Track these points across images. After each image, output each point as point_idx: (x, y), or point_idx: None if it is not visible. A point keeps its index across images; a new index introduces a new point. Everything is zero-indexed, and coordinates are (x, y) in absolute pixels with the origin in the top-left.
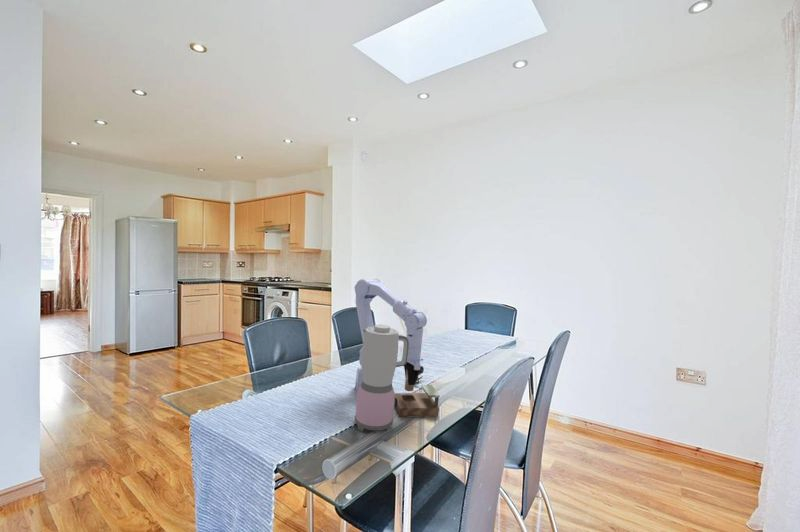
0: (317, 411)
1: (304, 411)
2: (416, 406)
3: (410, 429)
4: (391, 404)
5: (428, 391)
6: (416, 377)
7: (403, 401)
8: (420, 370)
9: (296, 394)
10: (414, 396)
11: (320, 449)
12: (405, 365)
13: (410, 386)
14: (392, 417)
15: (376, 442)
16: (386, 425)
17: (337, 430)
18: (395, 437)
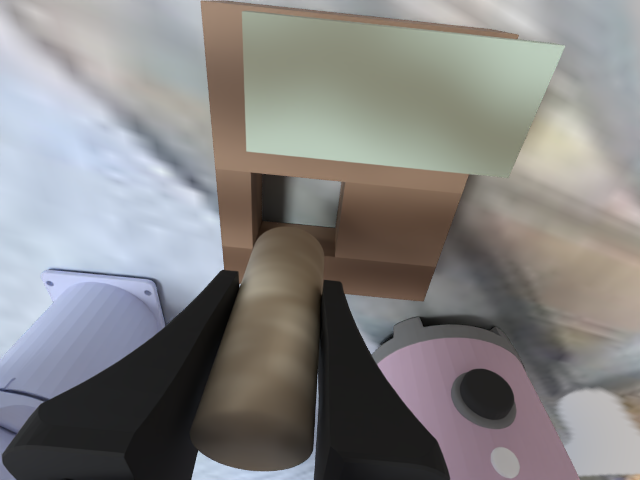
0: None
1: (306, 469)
2: (431, 212)
3: (545, 260)
4: (564, 449)
5: (419, 142)
6: (361, 339)
7: (343, 261)
8: (426, 430)
9: (198, 471)
10: (275, 169)
11: None
12: (188, 478)
13: (322, 287)
14: (505, 357)
15: (556, 379)
16: (524, 368)
17: None
18: (566, 327)
